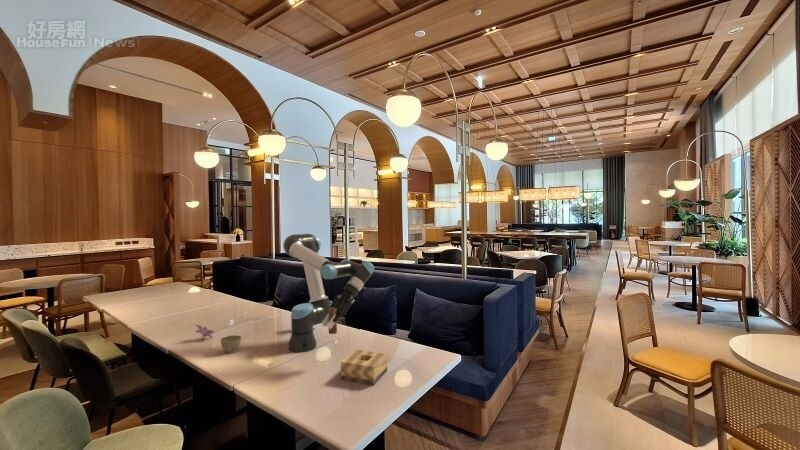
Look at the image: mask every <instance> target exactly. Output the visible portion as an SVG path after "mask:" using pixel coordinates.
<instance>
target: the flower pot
mask: <svg viewBox="0 0 800 450" xmlns="http://www.w3.org/2000/svg"><path fill="white" fill-rule="evenodd" d="M241 340H242V336H240V335H235V334H234V335H227V336H224V337H222V338H221V339H220V344H221V347H222V349H223V351H224V352H225V353H226V354H233V353H235V352H236V351H237V350H238V349H239V347H240V344H241Z"/></svg>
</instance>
